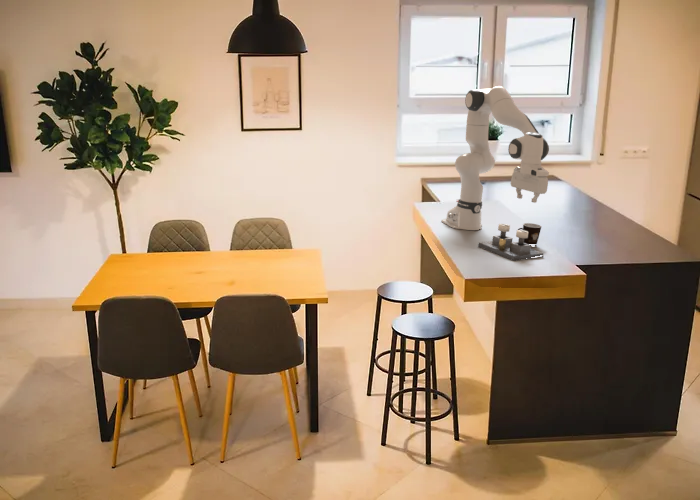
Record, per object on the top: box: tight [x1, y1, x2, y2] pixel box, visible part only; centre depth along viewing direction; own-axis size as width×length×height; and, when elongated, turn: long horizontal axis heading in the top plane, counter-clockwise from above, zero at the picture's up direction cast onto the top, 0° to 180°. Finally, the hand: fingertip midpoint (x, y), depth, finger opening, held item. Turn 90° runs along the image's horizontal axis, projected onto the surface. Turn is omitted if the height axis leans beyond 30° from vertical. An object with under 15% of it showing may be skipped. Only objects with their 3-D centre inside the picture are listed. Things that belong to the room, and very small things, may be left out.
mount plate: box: [477, 234, 544, 262], centre depth 334 cm, size 24×18×6 cm
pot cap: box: [499, 238, 506, 250], centre depth 331 cm, size 3×3×5 cm
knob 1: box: [497, 223, 511, 238], centre depth 337 cm, size 5×5×6 cm
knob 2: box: [515, 229, 528, 245], centre depth 328 cm, size 5×5×6 cm
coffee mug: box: [517, 222, 542, 245], centre depth 348 cm, size 12×9×10 cm
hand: (526, 200), depth 324 cm, fingers open, 8 cm apart
